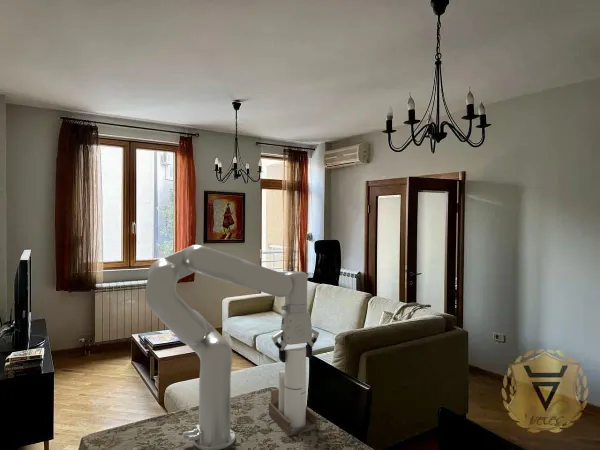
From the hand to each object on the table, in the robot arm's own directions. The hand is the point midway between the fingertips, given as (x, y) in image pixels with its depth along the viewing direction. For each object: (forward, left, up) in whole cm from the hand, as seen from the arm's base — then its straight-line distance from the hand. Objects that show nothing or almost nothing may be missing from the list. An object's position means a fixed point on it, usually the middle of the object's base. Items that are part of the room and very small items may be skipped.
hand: (295, 359), depth 135 cm
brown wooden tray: (0, +2, -22) cm, 22 cm away
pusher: (0, +4, -21) cm, 21 cm away
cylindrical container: (0, 0, -21) cm, 21 cm away
